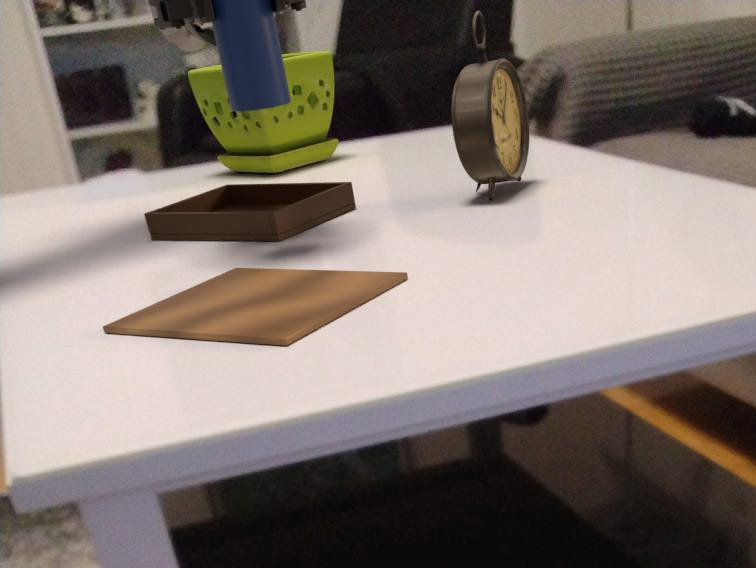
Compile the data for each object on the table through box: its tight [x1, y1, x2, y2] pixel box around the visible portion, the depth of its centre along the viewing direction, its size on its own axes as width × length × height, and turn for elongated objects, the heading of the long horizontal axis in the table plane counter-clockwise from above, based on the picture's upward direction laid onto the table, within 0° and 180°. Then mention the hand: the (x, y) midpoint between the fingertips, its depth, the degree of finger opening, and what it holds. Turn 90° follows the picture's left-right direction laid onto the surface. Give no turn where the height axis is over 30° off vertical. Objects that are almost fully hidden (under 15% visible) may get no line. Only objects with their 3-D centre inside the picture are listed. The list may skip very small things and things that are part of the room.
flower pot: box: [187, 50, 339, 174], centre depth 134 cm, size 14×14×13 cm
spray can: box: [211, 0, 291, 113], centre depth 85 cm, size 5×5×13 cm
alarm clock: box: [450, 10, 530, 202], centre depth 102 cm, size 11×5×16 cm, turn 159°
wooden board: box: [102, 267, 409, 347], centre depth 80 cm, size 18×16×1 cm
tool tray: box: [143, 181, 357, 242], centre depth 106 cm, size 17×13×3 cm
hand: (243, 0), depth 82 cm, fingers closed on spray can, 5 cm apart
